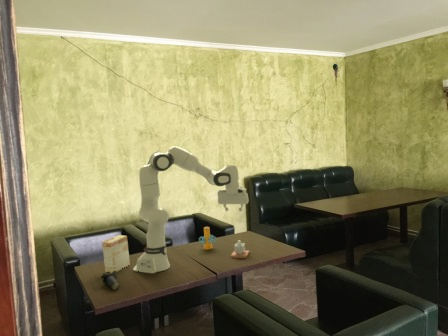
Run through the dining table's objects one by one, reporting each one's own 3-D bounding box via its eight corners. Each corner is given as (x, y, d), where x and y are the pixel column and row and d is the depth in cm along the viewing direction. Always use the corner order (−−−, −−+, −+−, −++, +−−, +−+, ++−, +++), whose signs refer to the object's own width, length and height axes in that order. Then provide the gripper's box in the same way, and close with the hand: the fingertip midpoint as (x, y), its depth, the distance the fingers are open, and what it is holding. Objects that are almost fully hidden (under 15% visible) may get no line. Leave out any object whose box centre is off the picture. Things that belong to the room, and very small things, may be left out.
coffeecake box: (122, 264, 239) (119, 234, 237) (130, 265, 236) (127, 235, 234) (104, 272, 226) (101, 241, 224) (113, 274, 223) (110, 242, 221)
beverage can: (103, 287, 208) (110, 294, 198) (100, 275, 206) (106, 282, 196) (119, 279, 213) (126, 287, 203) (115, 267, 211) (122, 274, 201)
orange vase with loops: (217, 245, 263) (216, 225, 261) (216, 250, 253) (214, 229, 251) (200, 246, 264) (199, 226, 263) (198, 251, 254) (196, 230, 252)
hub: (234, 252, 238) (234, 245, 237) (236, 249, 243) (236, 243, 242) (243, 252, 236) (242, 246, 236) (245, 250, 241) (244, 243, 241)
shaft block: (231, 257, 236) (230, 243, 235) (234, 252, 246) (233, 238, 245) (246, 258, 234) (245, 243, 233) (249, 252, 243) (248, 238, 242)
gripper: (215, 190, 239) (217, 211, 241) (246, 190, 234) (247, 211, 235) (218, 189, 246) (219, 209, 247) (248, 188, 240) (249, 209, 241)
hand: (233, 210), depth 241 cm, fingers open, 8 cm apart
